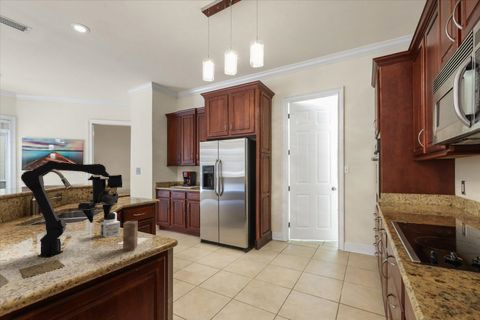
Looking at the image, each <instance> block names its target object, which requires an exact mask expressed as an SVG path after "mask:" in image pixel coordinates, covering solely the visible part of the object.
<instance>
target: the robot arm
mask: <svg viewBox="0 0 480 320" xmlns="http://www.w3.org/2000/svg"><path fill="white" fill-rule="evenodd" d="M54 170H58V171H70V172H82V173H86V174H90V176H89V178H87V181H92V182H91V183H92V184H91V185H92V190H91V191H89V193H90V195H92V196H91V199H90V201H84V202H79V203H78V204H77V210H80V211H81V212H83V213H84V215H85V217H86V218H87V220H88V221H89V223H90V224H92V223H94V214H95V213H94V212H95V210H96V206H100V205H102V210H103V216H104V215H105V218H108V216H109V213H110V212H111V210H112V208H113V207H114V206H115V205H116V204H117V203H118V200H119V193H118V192H113V193H109V190H107V187H109V189H121V188H123V175H122V174H115V175H114V174H113V175H111V174H110V173H108V171H107V168H106V166H105V165H104V164H101V163H92V164H91V163H90V164H89V163H87V164H82V163H72V162H61V161H56V160H47V162H45V163H43V164H42V165H40V166H38V167H36V168H34V169H31V170H26V171H24V172H23V173H21V175H20V179H21V181H22V182H23V184H24V185H25V187H26V188H27V189H29V190H30V192H32V195H33V197H34V199H35V201H36V204H37V206H38V208H39V210H40V212H41V214H42V216H43V218H44V221H45V222H44V223H45V225H44V226H45V231H46V233H45V234H44V235H43V236H42V237H41V238H40V239H39V243H40V254H38V255H37V257H43V258H51V257H53V256H56V255H59V254H61V253H63V252H64V250H62V249H61V248H62V241H61V238H60V237H62V235H63V234H65V230H67V229H66V228H67V226H68V224H67V223H66V222H65V219H64V217H61V218H60V217H59V216H58V215H57V214H56V212H55V209H54V206H53V205H52V203H51V200H50V198H49V196H48V194H47V192H46V189H45V181H44V177H45V176H46V175H48V174H50V172H52V171H54Z"/></svg>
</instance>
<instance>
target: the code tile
mask: <svg viewBox="0 0 480 320" xmlns="http://www.w3.org/2000/svg"><path fill="white" fill-rule="evenodd" d="M146 240H149V237H138V241H137V246H138V245H140V244H142V243H144V242H145V241H146ZM117 245H123V240H122V241H119V242H118V243H117Z"/></svg>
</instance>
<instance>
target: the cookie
mask: <svg viewBox="0 0 480 320" xmlns="http://www.w3.org/2000/svg"><path fill="white" fill-rule="evenodd" d="M63 267H65V268H66V266H65V264H64V263H62V262H61V261H60V260H59V259H54V260H50V261H46V262H42V263H37V264H34V265H31V266H27V267H23V268H19V273H20V275H22V278H23V279H25V278H26V279H29V277H30V278H33V277H37V276H40V275H42V274H43V273H44V274H46V272H47V273H51V272H53V270H54V271H57V270H56V269H58V270H61V269H64V268H63ZM60 268H61V269H60ZM39 274H40V275H39ZM36 275H37V276H36ZM26 279H25V280H26Z"/></svg>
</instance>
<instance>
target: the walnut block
mask: <svg viewBox="0 0 480 320" xmlns="http://www.w3.org/2000/svg"><path fill="white" fill-rule="evenodd" d="M138 223H139V221H138V220H127V221H125V222H124V223H122V225H123V226H122V227H123V229H122V241H123V244H122V252H130V251H131V252H132V251H133V252H134V251H135V250H136V249H137V248H138V245H137V241H138V238H139V236H138V235H139V234H138V231H139V229H138V227H139V225H138Z"/></svg>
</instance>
